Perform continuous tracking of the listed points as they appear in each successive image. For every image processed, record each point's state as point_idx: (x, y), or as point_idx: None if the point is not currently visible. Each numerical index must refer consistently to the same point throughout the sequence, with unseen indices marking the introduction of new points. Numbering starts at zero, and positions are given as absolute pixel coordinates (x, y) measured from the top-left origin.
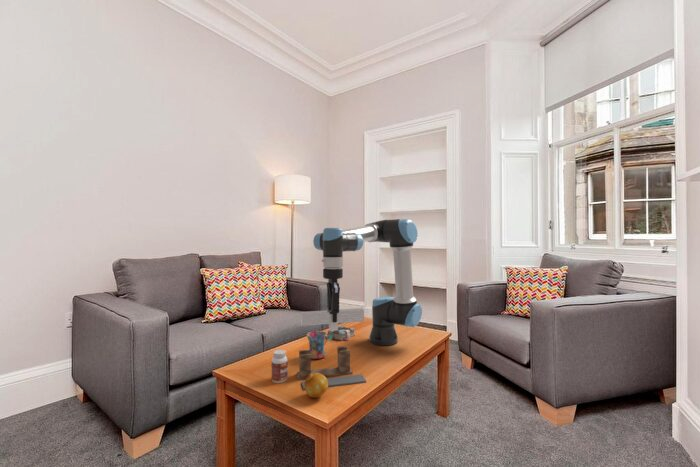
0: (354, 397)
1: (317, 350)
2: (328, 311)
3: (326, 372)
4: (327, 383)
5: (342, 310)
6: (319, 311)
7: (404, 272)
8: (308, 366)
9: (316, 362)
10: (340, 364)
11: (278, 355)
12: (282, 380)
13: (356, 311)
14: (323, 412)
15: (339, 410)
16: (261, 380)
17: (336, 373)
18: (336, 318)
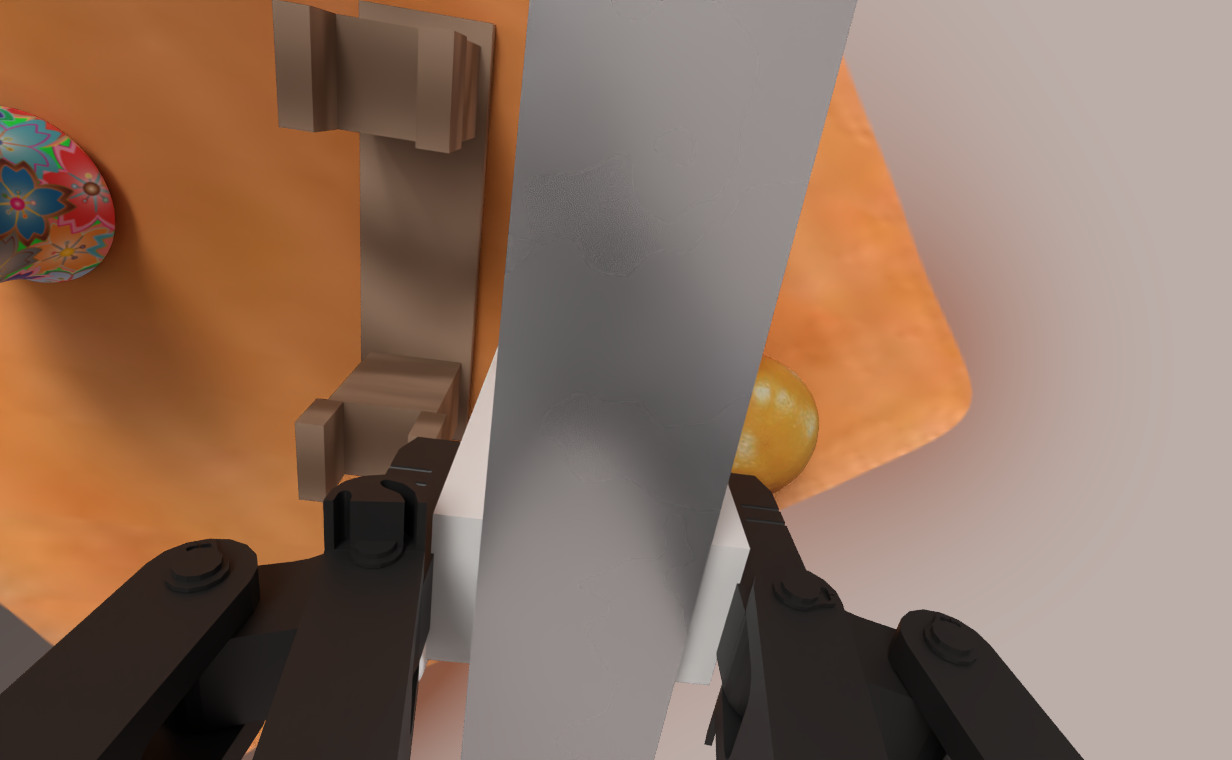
0: (854, 186)
1: (47, 224)
2: (607, 730)
3: (440, 243)
4: (788, 373)
5: (668, 411)
6: None
7: None
8: (445, 407)
9: (179, 238)
10: (462, 139)
11: (425, 665)
12: None
13: None
14: (899, 408)
15: (932, 328)
16: None
17: (482, 174)
18: (783, 529)
